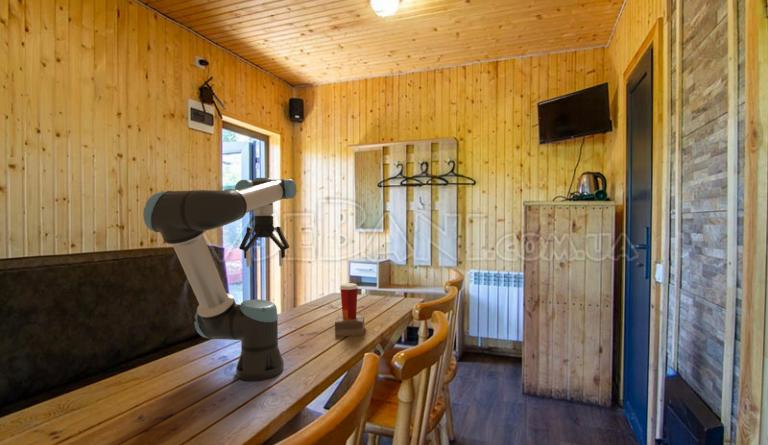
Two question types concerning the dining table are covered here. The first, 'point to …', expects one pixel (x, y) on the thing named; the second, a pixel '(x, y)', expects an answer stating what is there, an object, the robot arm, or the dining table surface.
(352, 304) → the coffee cup
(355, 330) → the riser
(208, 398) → the dining table surface
